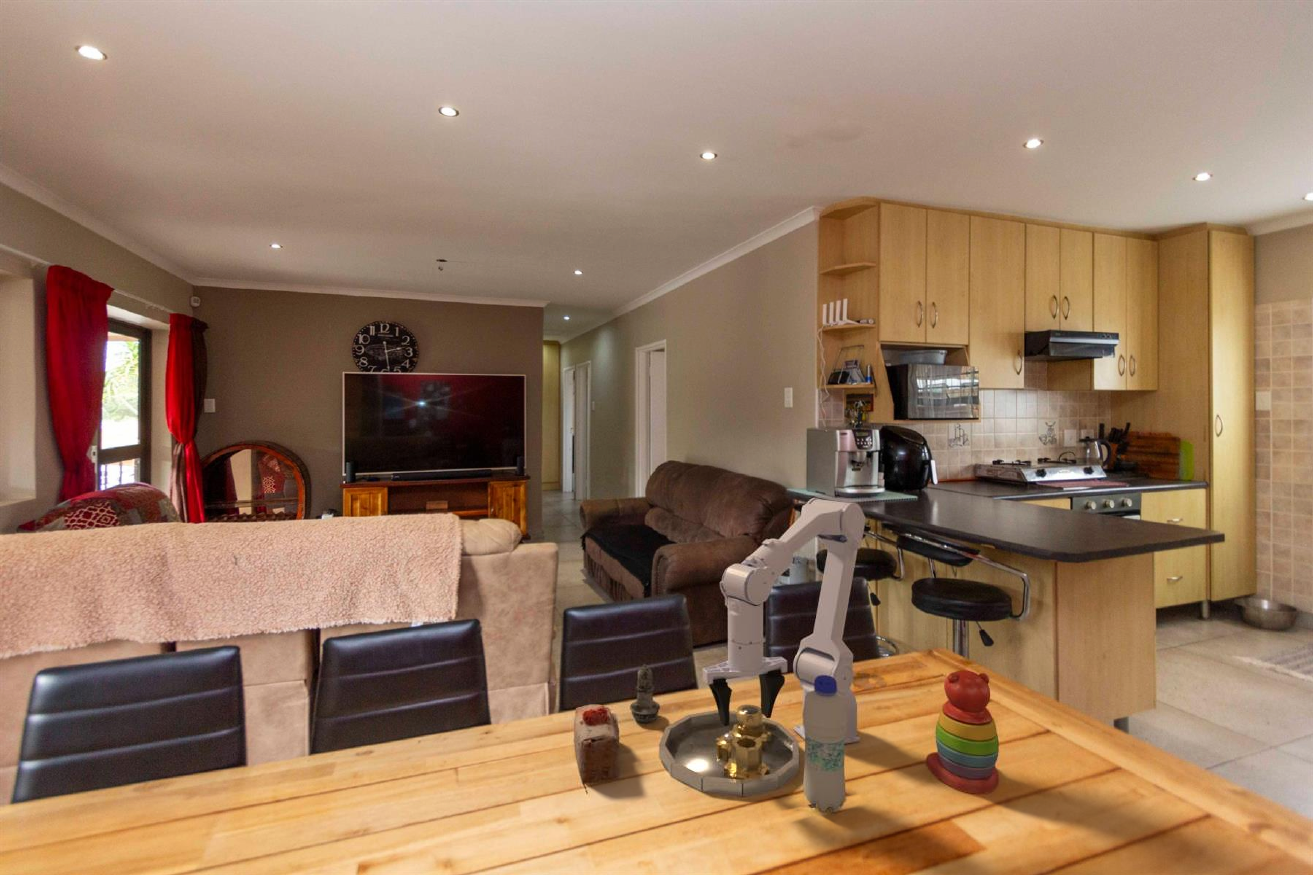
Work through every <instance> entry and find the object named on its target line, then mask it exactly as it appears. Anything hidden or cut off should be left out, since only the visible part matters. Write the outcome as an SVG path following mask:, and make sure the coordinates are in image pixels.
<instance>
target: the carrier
mask: <svg viewBox="0 0 1313 875" xmlns="http://www.w3.org/2000/svg"><path fill="white" fill-rule="evenodd" d="M729 716H730V721H729V726H724V725H723V724H722V722H721V721H720V717H719V712H718V709H717V710H710V711H704V712H700V713H698V712H697V713H691V714H687V715H685V716H683V717H682V718H680V719H678V720H677V721H675V722H673V723H671V724H669V725H667V726H666V727H665V729H664V731H663V734H662V736H661V739H660V741H659V743H658V758H659V759H660V762H661V764H662V766H663V768H664V770H666V772H667V773H668V774H669V776H671V778H673V779H675V780H677V781H678V782H680V784H681V783H682V785H684V786H688V787H689V788H692V789H694V790H697V791H699V792H702V793H707V794H712V795H716V796H717V795H719V796H726V797H727V796H728V797H729V796H730V797H747V796H756V795H762V794H766V793H769V792H772V791H776V790H778V789H781V788H782V787H783V786H785V785H787V784H788V783H789V782H792V780H793V779H794V778H795V776H796V775H797V774H798V773H799V772H800V766H801V764H800V763H801V760H800V759H801V758H800V750H799V747H800V746H799V745H800V744H799V740H798V738H797V737H795V736H794V735H793V734H792V733H791V732H790V731H789V730H788V729H787V728H785V727H784V726H783V725H782V724H781V723H779V722H777V721H775V720H771V719H770V718H766V717H765V716H764V715H763V714H762V712H761V706H760V707H759V706H758V705H755V704H742V705H739V706H738V707H737V709H736V711H733V710H732V711H731V710H729ZM744 735H747V736H751V737H755V738H757V739H758V740H759V741H760V742H761V743H762V760H763V761H764V764H765V765H766V766H767V767H769V768H770V774H769V775H764V776H759V777H754V778H749V779H744V780H736V779H728V777H727V776H726V775H724V765H726V764H727V763H728V759H729V758H731V742H732V741H733V739H734V738H735V737H739V736H744Z"/></svg>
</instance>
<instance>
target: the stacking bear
mask: <svg viewBox="0 0 1313 875" xmlns="http://www.w3.org/2000/svg"><path fill="white" fill-rule="evenodd" d="M989 683H990V677H989V675H988V674H986V673H984V672H981V673H979V674H978V673H976V672H974V671H971V670H966V669H965V670H956V671H953V672H951V673H949V674H948V676H947V677H946V678H945V680H944V683H943V689H944V692H945V695H946V697H947V701H946V702H944V703H943V705H942V709H941V710H940V712H939V715H938V720H937V722H936V727H935V732H934V733H935V744H936V748H937V751H934V752H933V751H932V752H930V753H928V755H927V756H926V758H925V764H926V766H927V768H928V769H929V770H930V772H931V773H932V775H934V776H935V778H937V779H938V780H940V781H941V782H942V783H944V784H946V785H947V786H949V787H950V788H953V789H955V790H958V791H960V792H965V793H969V794H976V795H977V794H979V795H980V794H981V795H982V794H987V793H991V792H993V791H995V789H997V787H998V785H999V772H998V768H997V767H996V763H997V761H998V758H999V753H1000V751H999V750H1000V749H999V747H1000V742H999V735H998V731H997V725H996V721H995V718H993V716H992V714H991V712H990V711H989V710H988V708H987V706H988V705H989V702H990V699H991V689H990V686H989Z"/></svg>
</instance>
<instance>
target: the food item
mask: <svg viewBox="0 0 1313 875" xmlns="http://www.w3.org/2000/svg"><path fill="white" fill-rule="evenodd" d="M611 711H612V709H611V708H609V707H608V706H605V705H601V704H587V705H583V706H580V707H579V706H578V707H576V708H575V715H574V722H573V742H574V743H573V744H574V753H575V754H574V756H575V759H576V764H577V769H578V773H579V777H580V781H581V784H582V786H583V787H584V789H585V790H586V789H587V787H586V783H588V784H592V783H599V782H604V781H611V780H615V779H620V778H621V771H620V770H621V761H620V760H621V755H620V754H621V747H620V745H621V744H620V740H621V738H620V728H619V719H618V716H617V714H616V713H614V712H611Z"/></svg>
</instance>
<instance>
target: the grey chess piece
mask: <svg viewBox="0 0 1313 875" xmlns="http://www.w3.org/2000/svg"><path fill="white" fill-rule="evenodd" d="M654 688H655V686H654V685H653V671H652V669H650V668H648V667H647V664H645V663H643V665H642V667H641V668H639V669H638V671H637V685H635V690H636V691H637V694H636V696H637V697H636V701H633V702H632V703H631V704H630V705H629V710H630V711H631V715H632V716H633V719H634V720H636V721H637V722H639V723H650V722H653V721H654V720H656V718H657V717H658V714H659V710H660V709H661V705H660V703H658V702H657V701H655V700H654V698H653V690H654Z"/></svg>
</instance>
